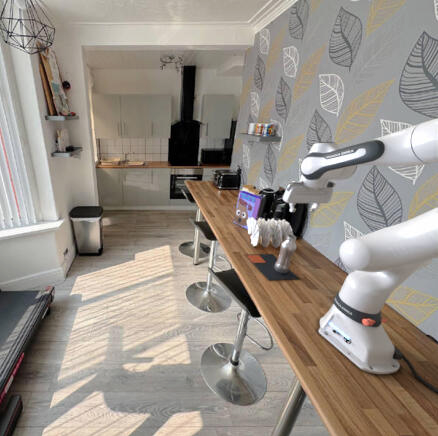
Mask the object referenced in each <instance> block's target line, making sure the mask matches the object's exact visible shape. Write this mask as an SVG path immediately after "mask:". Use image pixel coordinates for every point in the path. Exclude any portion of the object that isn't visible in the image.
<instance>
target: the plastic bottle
mask: <svg viewBox="0 0 438 436" xmlns="http://www.w3.org/2000/svg"><path fill="white" fill-rule="evenodd" d="M286 239H287V240H285V241H283V242H282V243H281V244H280V246H279V247H280V248H279V252H278V253H279V254H278V257H277V261H276V263H275V266H274V268H275V270H276V271H277V272H279V273H282V274H286V273H288V271H289V270H291V261H292V259H293V256H294V254H295V252H296V250H297V243H296V240H297V236H295V235H294V234H293V235H287V238H286Z"/></svg>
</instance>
